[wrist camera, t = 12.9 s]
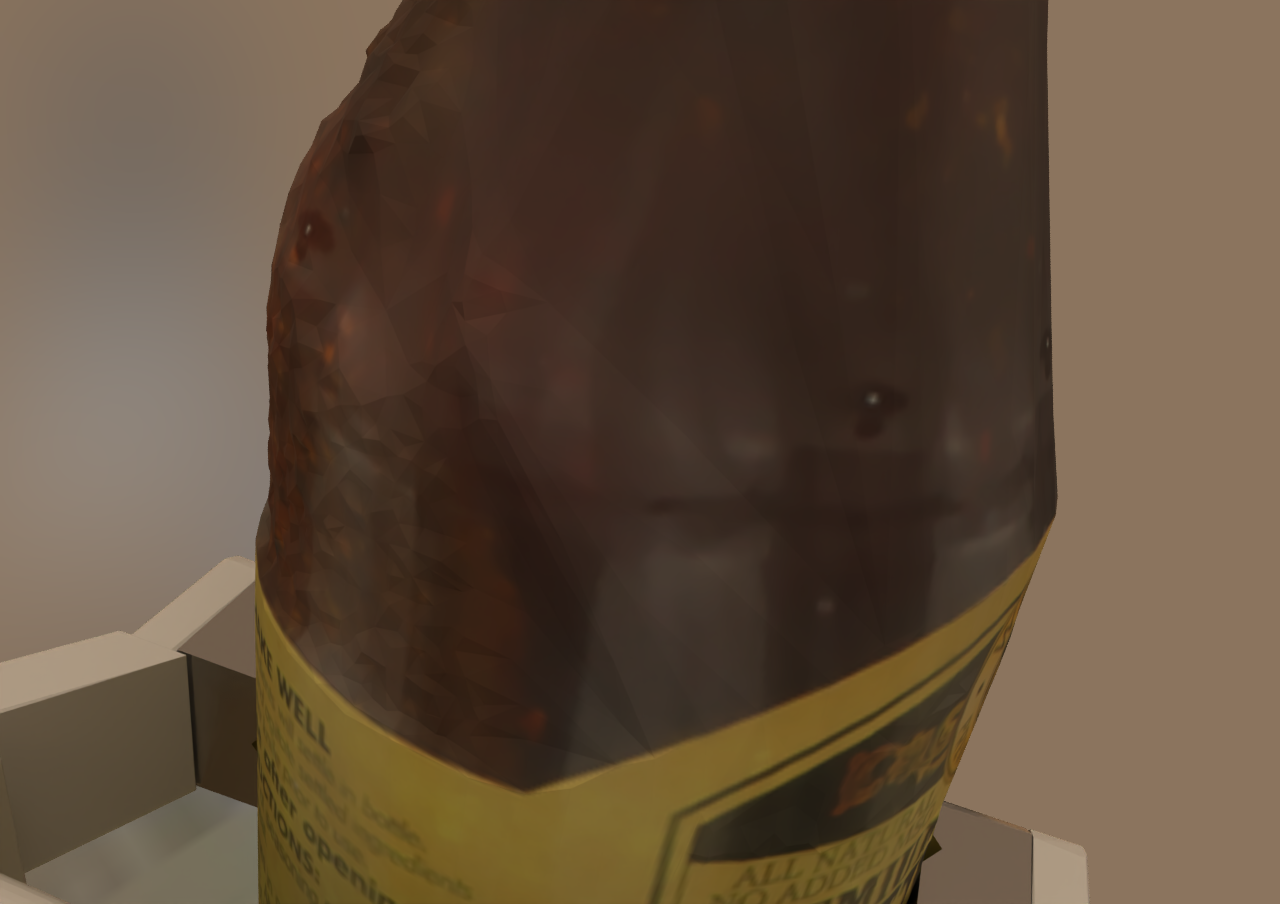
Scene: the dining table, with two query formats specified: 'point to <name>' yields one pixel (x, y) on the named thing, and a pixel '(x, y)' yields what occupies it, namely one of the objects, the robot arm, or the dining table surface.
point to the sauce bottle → (650, 449)
